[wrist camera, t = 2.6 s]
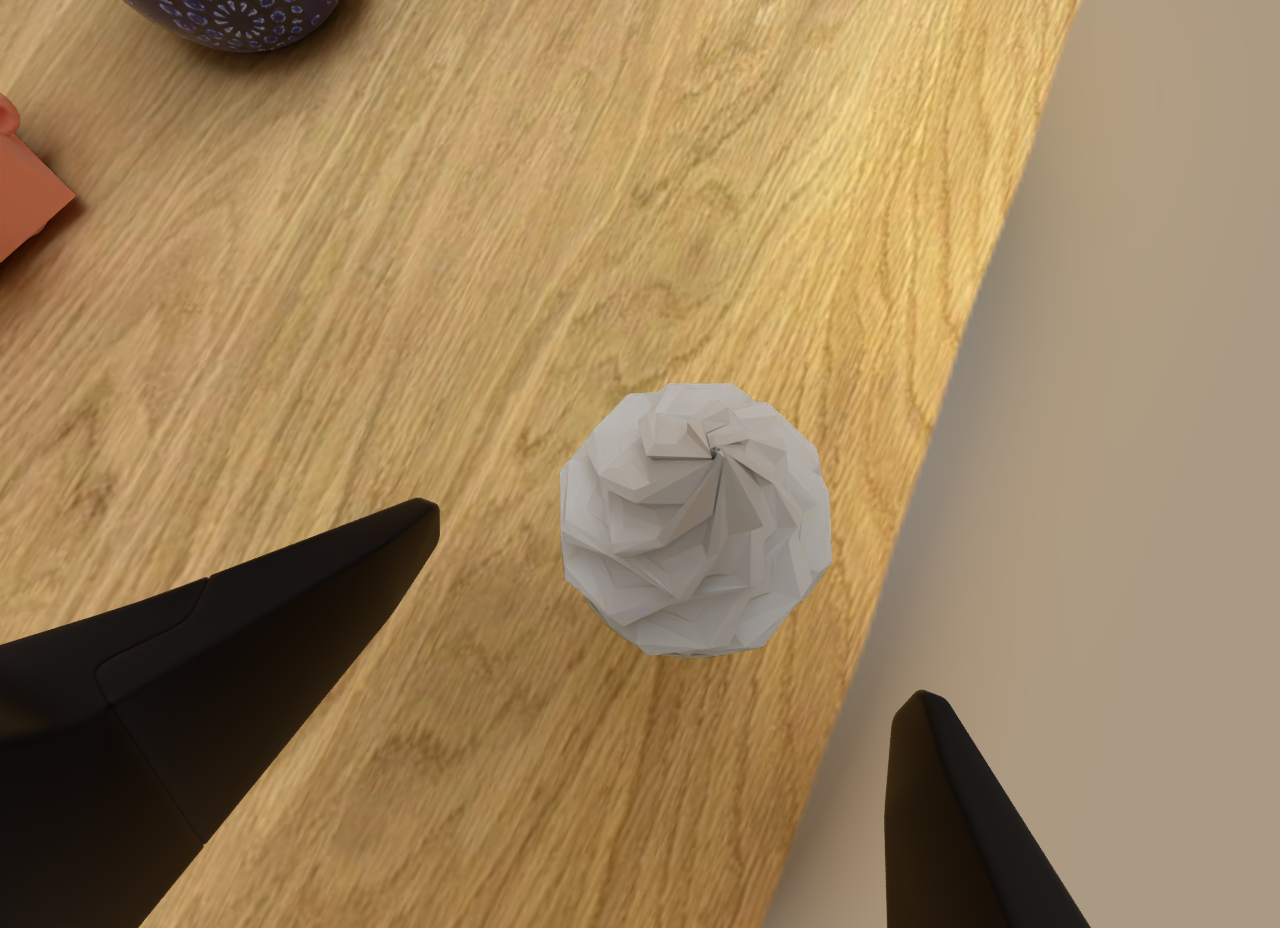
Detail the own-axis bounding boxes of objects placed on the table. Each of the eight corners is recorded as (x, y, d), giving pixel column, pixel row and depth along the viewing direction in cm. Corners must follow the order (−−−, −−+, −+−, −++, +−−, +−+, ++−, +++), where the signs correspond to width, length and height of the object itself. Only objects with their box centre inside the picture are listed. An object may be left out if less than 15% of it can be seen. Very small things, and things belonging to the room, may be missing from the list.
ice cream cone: (753, 475, 20) (1008, 185, 5) (754, 624, 19) (1076, 830, 4) (611, 472, 20) (444, 191, 5) (605, 618, 19) (377, 790, 4)
